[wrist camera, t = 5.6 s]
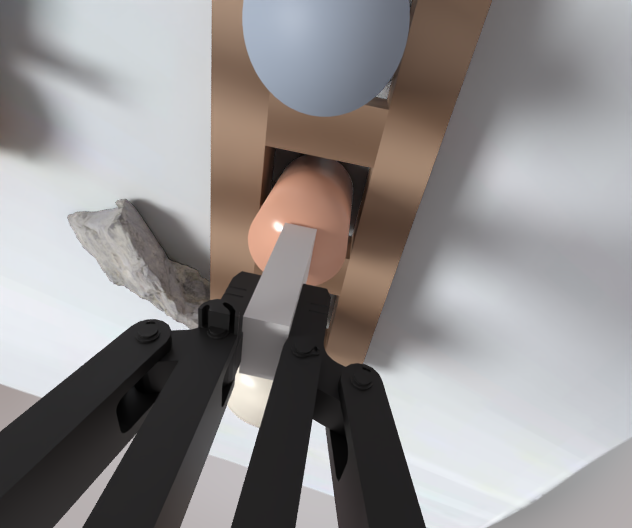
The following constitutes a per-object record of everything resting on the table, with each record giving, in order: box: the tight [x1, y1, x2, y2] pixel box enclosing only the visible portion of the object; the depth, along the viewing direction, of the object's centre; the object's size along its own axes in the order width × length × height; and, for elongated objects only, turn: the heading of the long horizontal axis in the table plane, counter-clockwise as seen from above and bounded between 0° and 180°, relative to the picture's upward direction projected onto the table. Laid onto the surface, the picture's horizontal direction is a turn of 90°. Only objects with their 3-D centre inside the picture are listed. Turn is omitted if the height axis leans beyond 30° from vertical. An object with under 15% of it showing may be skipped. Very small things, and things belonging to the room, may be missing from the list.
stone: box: [67, 199, 210, 329], centre depth 28 cm, size 6×12×4 cm, turn 33°
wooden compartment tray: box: [210, 0, 492, 367], centre depth 23 cm, size 30×12×3 cm, turn 170°
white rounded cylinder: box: [227, 368, 273, 428], centre depth 24 cm, size 5×5×7 cm
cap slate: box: [242, 0, 410, 117], centre depth 13 cm, size 5×5×7 cm
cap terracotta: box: [248, 155, 353, 286], centre depth 21 cm, size 5×5×7 cm
